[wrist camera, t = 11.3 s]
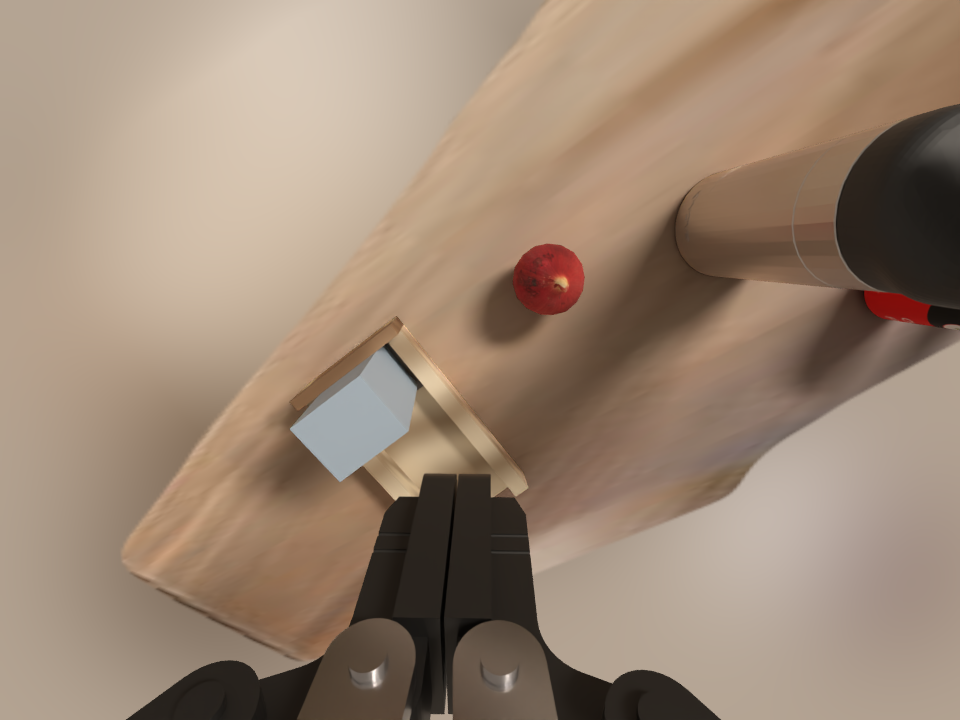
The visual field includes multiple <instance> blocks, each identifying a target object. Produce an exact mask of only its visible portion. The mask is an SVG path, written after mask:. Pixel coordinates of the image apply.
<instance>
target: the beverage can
mask: <svg viewBox="0 0 960 720" xmlns="http://www.w3.org/2000/svg"><path fill="white" fill-rule="evenodd" d="M864 298H865V302H866V304H867V306H868V308H869V309H870V310H871V311H872V313H874V314H875V315H877V316H878V317H881V318H883V319H888V320H895V321H901V322H908V323H915V324H921V325H928V326H934V327H941V328H948V329H954V330H960V309H953V308H946V307H940V306H934V305H929V304H924V303H921V302H918V301H915V300H913V299H910V298H908V297H906V296H904V295H902V294H897V293H889V292H877V291H866V290H864Z"/></svg>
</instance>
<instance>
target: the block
mask: <svg viewBox="0 0 960 720" xmlns="http://www.w3.org/2000/svg"><path fill="white" fill-rule="evenodd" d="M417 387H418V384H417V383H416V382H415V380H414V379H413V378H412V377H411V376H410V374H409V373H408V372H407V371H406V370H405V368H404V367H403V366H402V365H401V364H400V362H399V361H398V360H397V359H396V358H395V356H394V355H393V354H392V353H391V352H390V350H389V349H388V348H387V347H386V346H385V345H384V346H383V347H381V348H380V349H379V350H377V351H376V352H375V353H373V354H372V355H371V356H369V357H368V358H367V359H366V360H364V361H363V362H362V363H360V364H359V365H358V366H356V367H355V368H354V369H352V370H351V371H350V372H349V373H347V374H346V375H345V376H343V377H342V378H341V379H339V380H338V381H337V382H336V383H334V384H333V385H332V386H330V387H329V388H328V389H326V390H325V391H324V392H322V393H321V394H320V395H319V396H318V397H317V398H316V399H315V400H314V401H313V403H312V404H311V405H310V406H309V407H308V408H307V409H306V411H305V412H304V413H303V414H302V415H301V416H300V417H299V419H298V420H297V421H296V422H295V423H294V424H293V426H292V427H291V428H290V430H291V431H292V432H293V433H294V434H295V435H296V437H297V438H298V439H299V440H300V441H301V442H302V443H303V444H304V445H305V446H306V447H307V448H308V449H309V450H310V451H311V452H312V453H313V454H314V455H315V457H316V458H317V459H318V460H319V461H320V462H321V463H322V464H323V465H324V466H325V467H326V468H327V469H328V470H329V471H330V472H331V473H332V474H333V475H334V476H335V478H336V479H337V480H338V481H339V482H341V481H342V480H344V479H345V478H346V477H348V476H349V475H350V474H352V473H353V472H354V471H356V470H357V469H358V468H360V467H361V466H363V465H364V464H365V463H367V462H368V461H369V460H371V459H372V458H373V457H375V456H376V455H377V454H379V453H380V452H381V451H383V450H384V449H385V448H387V447H388V446H390V445H391V444H392V443H394V442H395V441H396V440H398V439H399V438H400V437H402V436H403V435H404V434H406V433H407V432H408V431H409V426H410V421H411V416H412V411H413V407H414V402H415V397H416V392H417Z"/></svg>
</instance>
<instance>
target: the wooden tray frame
mask: <svg viewBox="0 0 960 720" xmlns="http://www.w3.org/2000/svg"><path fill="white" fill-rule="evenodd" d="M384 345H385V346H386V347H387V348H388V349H389V350H390V352H391V353H392V354H393V355H394V356H395V358H396V359H397V360H398V361H399V362H400V364H401V365H402V366H403V367H404V368H405V370H406V371H407V372H408V373H409V374H410V376H411V377H412V378H413V379H414V380H415V382H416V383H417V384H418V387H417V392H416V397H415V402H414V407H413V411H412V416H411V421H410V426H409V431H408V432H407V433H406V434H404V435H403V436H402V437H400V438H399V439H398V440H396V441H395V442H394V443H392V444H391V445H390V446H388V447H387V448H385V449H384V450H383V451H381V452H380V453H379V454H377V455H376V456H375V457H373V458H372V459H371V460H369V461H368V462H367V463H365V464H364V465H363V466H364V467H365V469H366V470H367V471H368V472H369V473H370V474H371V475H372V476H373V477H374V478H375V479H376V480H377V482H378V483H379V484H380V485H381V486H382V487H383V488H384V489H385V490H386V491H387V492H388V493H389V495H390V496H391V497H392V498H393V499H394V500H395V501H396V500H397V499H398V497H399V496H404V497H419V493H420V488H421V484H422V479H423V475H424V473H441V474H457V485H458V476H459V474H491V497H495V496H496V495H497V494H499V493H500V492H502V491H503V490H505V489H506V488H507V487H508V488H509V489H510V490H511V492H512V493H513V494H514V495H515V496H518V495H519V494H521V493H522V492H523V491H525V490H526V489H528V488H529V487H528V484H527V482H526V479H525V476H524V473H523V472H522V470H521V469H520V468H519V467H518V465H517V464H516V463H515V462H514V460H513V459H512V458H511V457H510V456H509V454H508V453H507V452H506V451H505V449H504V448H503V447H502V446H501V444H500V443H499V442H498V441H497V439H496V438H495V437H494V436H493V435H492V433H491V432H490V431H489V430H488V428H487V427H486V426H485V425H484V423H483V422H482V421H481V420H480V418H479V417H478V416H477V415H476V414H475V412H474V411H473V410H472V409H471V407H470V406H469V405H468V404H467V402H466V401H465V400H464V399H463V397H462V396H461V395H460V394H459V393H458V391H457V390H456V389H455V388H454V386H453V385H452V384H451V383H450V381H449V380H448V379H447V378H446V376H445V375H444V374H443V373H442V371H441V370H440V369H439V368H438V367H437V365H436V364H435V363H434V362H433V360H432V359H431V358H430V357H429V355H428V354H427V353H426V352H425V350H424V349H423V348H422V347H421V346H420V344H419V343H418V342H417V341H416V339H415V338H414V337H413V336H412V334H411V333H410V332H409V331H408V329H407V328H406V327H405V326H404V325H403V323H402V322H401V321H400V320H399V318H398V317H397V316H396V317H395V318H393V319H392V320H391V321H389V322H388V323H387V324H386V325H384V326H383V327H382V328H380V329H379V330H378V331H376V332H375V333H374V334H373V335H371V336H370V337H369V338H367V339H366V340H365V341H363V342H362V343H361V344H360V345H358V346H357V347H356V348H354V349H353V350H352V351H350V352H349V353H348V354H347V355H345V356H344V357H343V358H341V359H340V360H339V361H338V362H336V363H335V364H334V365H332V366H331V367H330V368H328V369H327V370H326V371H325V372H323V373H322V374H321V375H319V376H318V377H317V378H315V379H314V380H313V381H312V382H310V383H309V384H308V385H307V386H306V387H305V388H304V389H303V390H301V391H300V392H299V393H298V394H297V395H296V396H295V397H294V398H293V399H292V400H291V401H290V403H291V404H292V405H293V407H294V408H295V409H296V410H297V411H299V410H300V409H302V408H303V407H304V406H305V405H307V406H308V407H309V406H310V405H311V404H312V403H313V401H314V400H315V399H316V398H317V397H318V396H319V395H320V394H321V393H322V392H324V391H325V390H326V389H328V388H329V387H330V386H332V385H333V384H334V383H336V382H337V381H338V380H339V379H341V378H342V377H343V376H345V375H346V374H347V373H349V372H350V371H351V370H352V369H354V368H355V367H356V366H358V365H359V364H360V363H362V362H363V361H364V360H366V359H367V358H368V357H369V356H371V355H372V354H373V353H375V352H376V351H377V350H379V349H380V348H381V347H383V346H384Z"/></svg>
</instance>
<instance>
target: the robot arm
mask: <svg viewBox="0 0 960 720" xmlns="http://www.w3.org/2000/svg"><path fill="white" fill-rule="evenodd" d="M675 234H676V242H677V245H678V249H679V251H680V253H681V255H682V257H683V259H684V260H685V261H686V262H687V263H688V264H689V265H690V266H691V267H692V268H694V269H695V270H696V271H698V272H700V273H703V274H705V275H710V276H717V277H727V278H737V279H747V280H757V281H768V282H778V283H789V284H800V285H810V286H821V287H831V288H845V289H855V290H866V291H877V292H889V293H897V294H902V295H904V296H906V297H908V298H910V299H913V300H915V301H918V302H921V303H924V304H929V305H934V306H940V307H946V308H953V309H960V104H957V105H953V106H948V107H944V108H941V109H937V110H934V111H930V112H927V113H923V114H920V115H917V116H913V117H909V118H906V119H902V120H899V121H895V122H892V123H888V124H885V125H881V126H878V127H874V128H871V129H867V130H864V131H861V132H858V133H854V134H851V135H847V136H844V137H840V138H837V139H834V140H830V141H827V142H823V143H820V144H816V145H813V146H809V147H806V148H802V149H799V150H795V151H792V152H788V153H785V154H781V155H778V156H774V157H771V158H767V159H764V160H760V161H757V162H753V163H750V164H746V165H742V166H739V167H736V168H732V169H729V170H726V171H722V172H719V173H715V174H712V175H710V176H708V177H707V178H705V179H703V180H701V181H700V182H699V183H698V184H697V185H695V186H694V187H693V188H692V189H691V191H690V192H689V193H688V194H687V195H686V197H685V199H684V201H683V202H682V204H681V206H680V209H679V212H678V215H677V219H676V226H675ZM446 688H447V696H448V714H453V720H721V719H719V718H718V717H717V716H716V715H715V714H714V713H713V712H712V711H711V710H709V709H708V708H707V707H706V706H705V705H704V704H703V703H701V701H699V700H698V699H697V698H696V697H695V696H694V695H693V694H692V693H691V692H689V691H688V690H687V689H686V688H684V687H683V686H682V685H681V684H679V683H678V682H676V681H675V680H673V679H671V678H670V677H667V676H665V675H663V674H660V673H657V672H654V671H648V670H635V671H631V672H627V673H625V674H623V675H621V676H620V677H619V678H617V679H616V680H615V681H614V683H613V684H612V683H609V682H607V681H604V680H601V679H598V678H596V677H593V676H590V675H587V674H585V673H582V672H580V671H577V670H575V669H573V668H571V667H569V666H568V665H566V664H565V663H563V662H562V661H561V660H560V659H558V658H557V657H556V656H555V655H554V654H553V653H552V652H551V651H550V649H549V648H548V646H547V645H546V644H545V642H544V640H543V638H542V636H541V633H540V630H539V627H538V621H537V613H536V604H535V595H534V586H533V576H532V567H531V558H530V549H529V540H528V531H527V521H526V514H525V513H524V511H523V510H522V508H521V507H520V505H519V504H518V502H517V501H516V499H515V498H503V497H491V474H459V476H458V485H457V474H441V473H424V475H423V479H422V484H421V488H420V493H419V497H404V496H399V497H398V499H397V500H396V501H395V502H394V503H393V504H392V505H391V506H390V508H389V509H388V510H387V511H386V512H385V514H384V517H383V520H382V524H381V527H380V530H379V536H378V537H377V540H376V543H375V546H374V552H373V553H372V556H371V559H370V562H369V566H368V569H367V572H366V575H365V579H364V582H363V585H362V588H361V592H360V595H359V598H358V601H357V604H356V608H355V611H354V614H353V617H352V620H351V623H350V625H349V627H348V628H347V629H345V630H344V631H343V632H341V633H340V634H339V635H338V636H337V637H336V638H335V639H334V640H333V641H332V643H331V644H330V646H329V647H328V648H327V650H326V652H325V654H324V655H323V656H321V657H320V658H318V659H317V660H315V661H313V662H311V663H309V664H307V665H304V666H302V667H299V668H296V669H293V670H289V671H286V672H283V673H280V674H277V675H273V676H270V677H267V678H264V679H260V680H258V677H257V675H256V673H255V671H254V670H253V669H252V668H251V667H250V666H248V665H246V664H245V663H242V662H239V661H220V662H216V663H211V664H209V665H206V666H204V667H201V668H199V669H198V670H196V671H194V672H192V673H190V674H189V675H188V676H186V677H184V678H183V679H182V680H180V681H179V682H177V683H176V684H174V685H173V686H172V687H170V688H169V689H168V690H166V691H165V692H163V693H162V694H161V695H159V696H158V697H157V698H155V699H154V700H152V701H151V702H150V703H149V704H147V705H146V706H144V707H143V708H141V709H140V710H139V711H137V712H136V713H135V714H133V715H132V716H131V717H129V718H128V719H126V720H430V714H444V711H445V699H446Z"/></svg>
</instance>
